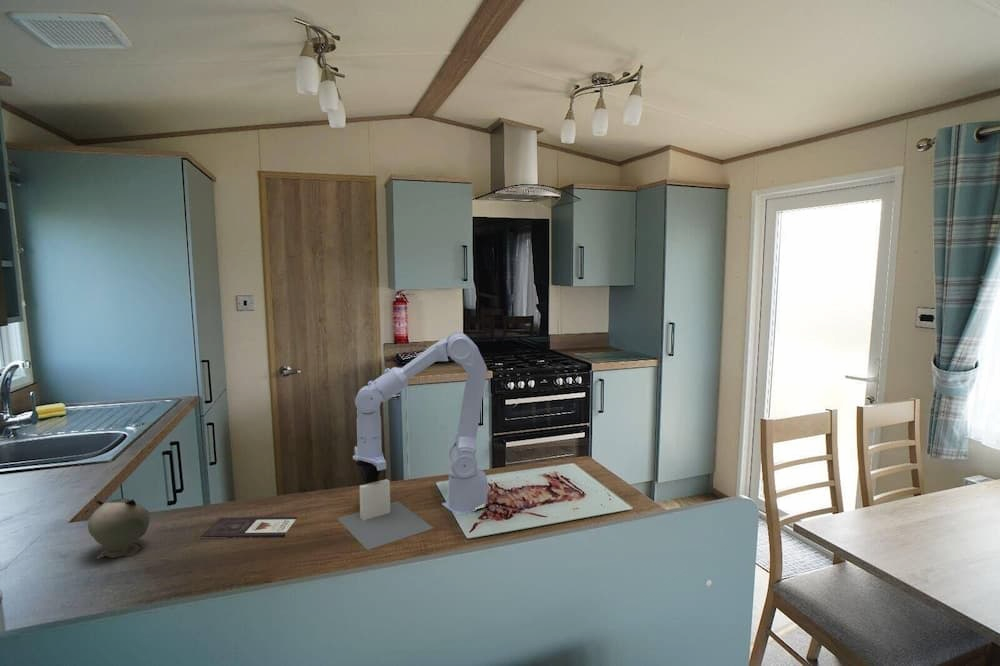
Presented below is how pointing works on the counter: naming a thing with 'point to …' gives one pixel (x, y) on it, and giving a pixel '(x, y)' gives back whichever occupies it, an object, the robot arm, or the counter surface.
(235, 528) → the chocolate bar
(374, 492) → the tile
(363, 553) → the counter surface
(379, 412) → the robot arm
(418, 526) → the mat
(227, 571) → the counter surface
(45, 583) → the counter surface
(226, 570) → the counter surface
